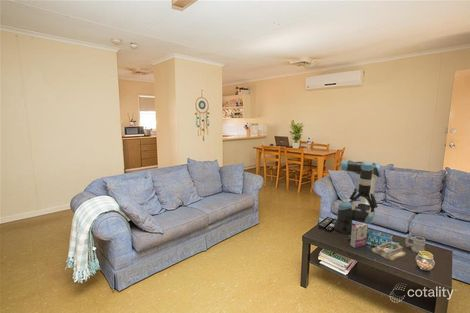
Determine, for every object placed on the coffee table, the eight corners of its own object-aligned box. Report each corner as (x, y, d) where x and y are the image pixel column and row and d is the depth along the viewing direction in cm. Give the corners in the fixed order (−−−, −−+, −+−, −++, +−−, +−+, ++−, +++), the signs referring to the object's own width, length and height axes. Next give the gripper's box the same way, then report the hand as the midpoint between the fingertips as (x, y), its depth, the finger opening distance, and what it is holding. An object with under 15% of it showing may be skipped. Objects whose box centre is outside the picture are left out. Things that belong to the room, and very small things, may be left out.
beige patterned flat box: (371, 250, 174) (372, 244, 174) (385, 245, 182) (386, 239, 181) (391, 261, 162) (392, 255, 161) (405, 254, 170) (406, 249, 169)
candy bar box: (360, 242, 186) (362, 222, 183) (365, 245, 181) (368, 224, 178) (349, 245, 181) (351, 224, 178) (355, 248, 177) (357, 227, 174)
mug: (423, 255, 170) (426, 239, 168) (403, 248, 178) (405, 233, 176) (424, 251, 175) (427, 235, 173) (405, 245, 183) (407, 230, 181)
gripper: (346, 180, 182) (343, 207, 186) (378, 189, 160) (375, 220, 164) (352, 179, 186) (350, 206, 189) (385, 188, 164) (381, 218, 167)
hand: (361, 212), depth 177 cm, fingers open, 13 cm apart
